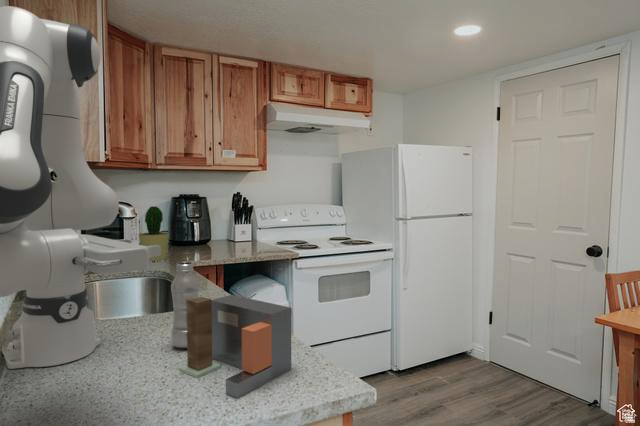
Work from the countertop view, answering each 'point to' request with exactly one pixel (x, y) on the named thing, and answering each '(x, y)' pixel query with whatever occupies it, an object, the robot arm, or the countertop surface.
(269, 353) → the plunger
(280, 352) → the box
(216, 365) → the pad
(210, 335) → the peg
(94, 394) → the countertop surface
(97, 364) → the countertop surface
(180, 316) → the plastic bottle
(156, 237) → the potted cactus
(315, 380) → the countertop surface
